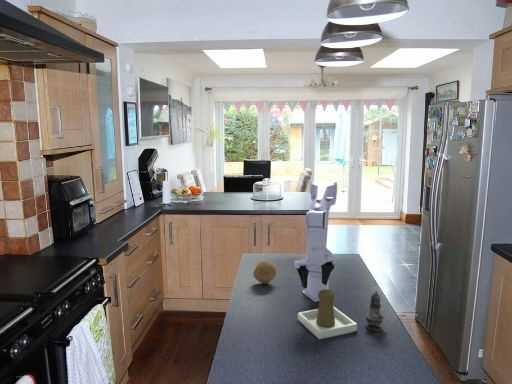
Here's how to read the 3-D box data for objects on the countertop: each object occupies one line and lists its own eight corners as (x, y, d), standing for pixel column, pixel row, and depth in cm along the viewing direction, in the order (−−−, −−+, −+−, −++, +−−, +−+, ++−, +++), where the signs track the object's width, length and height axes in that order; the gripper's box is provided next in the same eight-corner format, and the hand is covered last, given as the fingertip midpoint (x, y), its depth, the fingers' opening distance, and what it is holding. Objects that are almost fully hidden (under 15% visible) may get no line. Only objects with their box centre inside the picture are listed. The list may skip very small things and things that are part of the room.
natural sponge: (278, 287, 158) (279, 263, 157) (257, 289, 156) (257, 265, 155) (273, 279, 167) (273, 256, 165) (252, 281, 165) (252, 257, 163)
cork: (312, 321, 130) (313, 289, 128) (326, 317, 133) (327, 285, 131) (324, 329, 125) (325, 296, 123) (339, 324, 128) (340, 292, 126)
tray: (297, 319, 132) (297, 312, 132) (332, 312, 138) (333, 305, 137) (319, 339, 120) (319, 332, 120) (356, 331, 125) (357, 323, 125)
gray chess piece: (360, 325, 128) (362, 289, 127) (373, 322, 131) (376, 286, 130) (373, 333, 123) (376, 295, 122) (387, 329, 126) (390, 292, 125)
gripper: (301, 252, 126) (301, 293, 128) (341, 247, 131) (339, 286, 133) (291, 246, 132) (290, 285, 134) (329, 241, 138) (328, 279, 140)
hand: (314, 285), depth 134 cm, fingers open, 7 cm apart
